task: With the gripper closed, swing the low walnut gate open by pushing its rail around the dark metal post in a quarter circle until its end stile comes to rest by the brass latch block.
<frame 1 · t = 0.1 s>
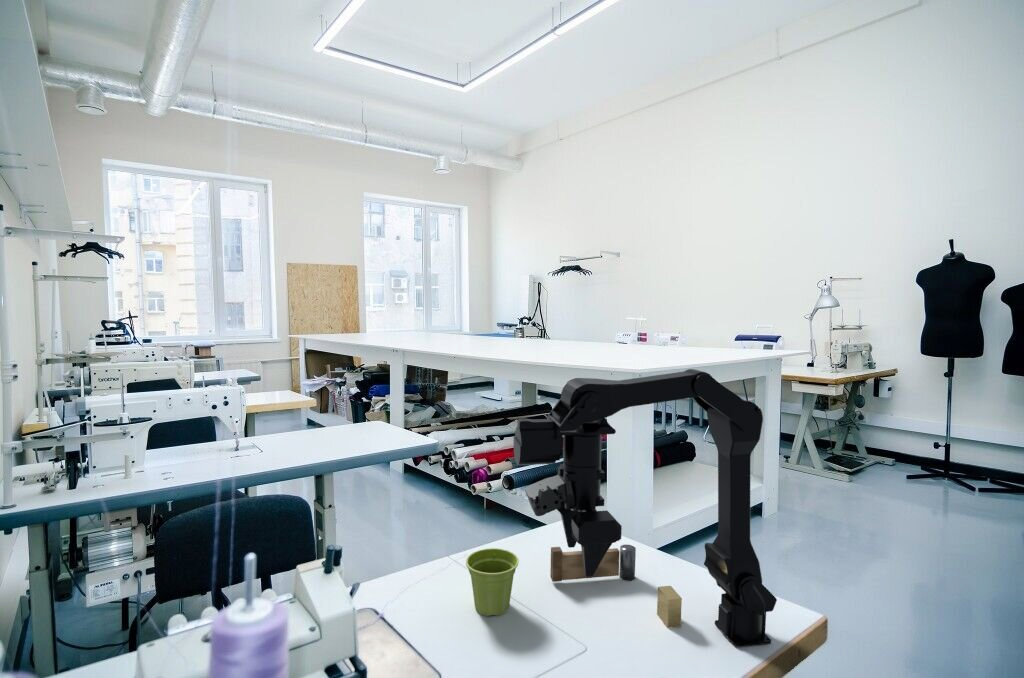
hand: (579, 560, 82), 15 cm above the table, tool pointing down, fingers open, 9 cm apart
gate post: (627, 577, 105), on the table
swing gate: (585, 561, 104), point 4 cm above the table, hinge at 0.0°
latch block: (668, 620, 91), on the table
plant pot: (491, 608, 95), on the table
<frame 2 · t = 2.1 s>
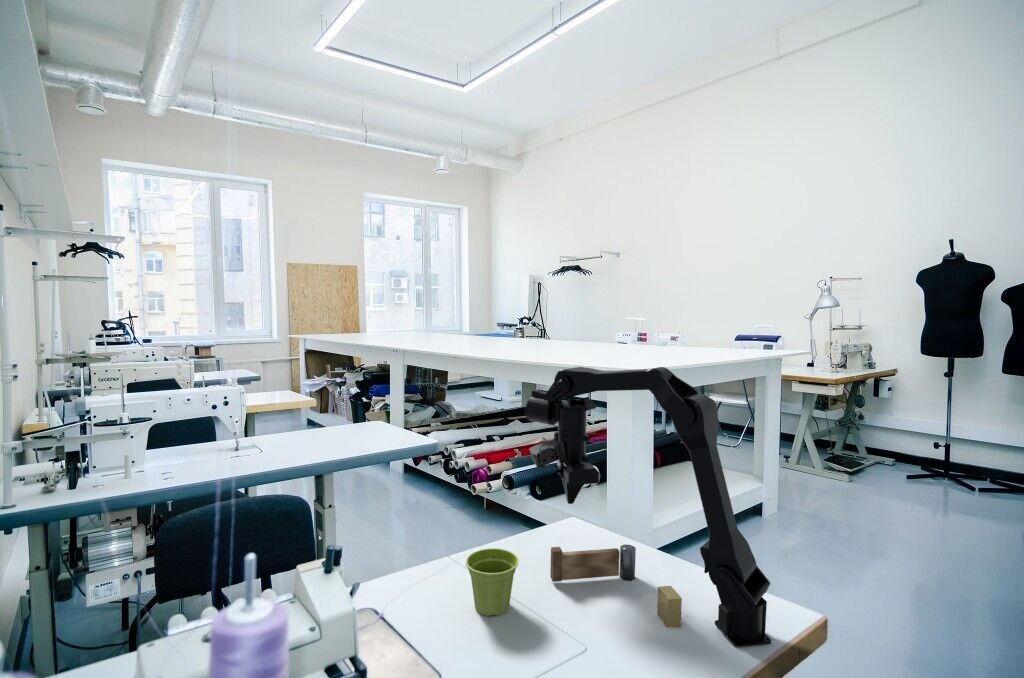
hand: (570, 503, 109), 13 cm above the table, tool pointing down, fingers closed
nothing on the table moved.
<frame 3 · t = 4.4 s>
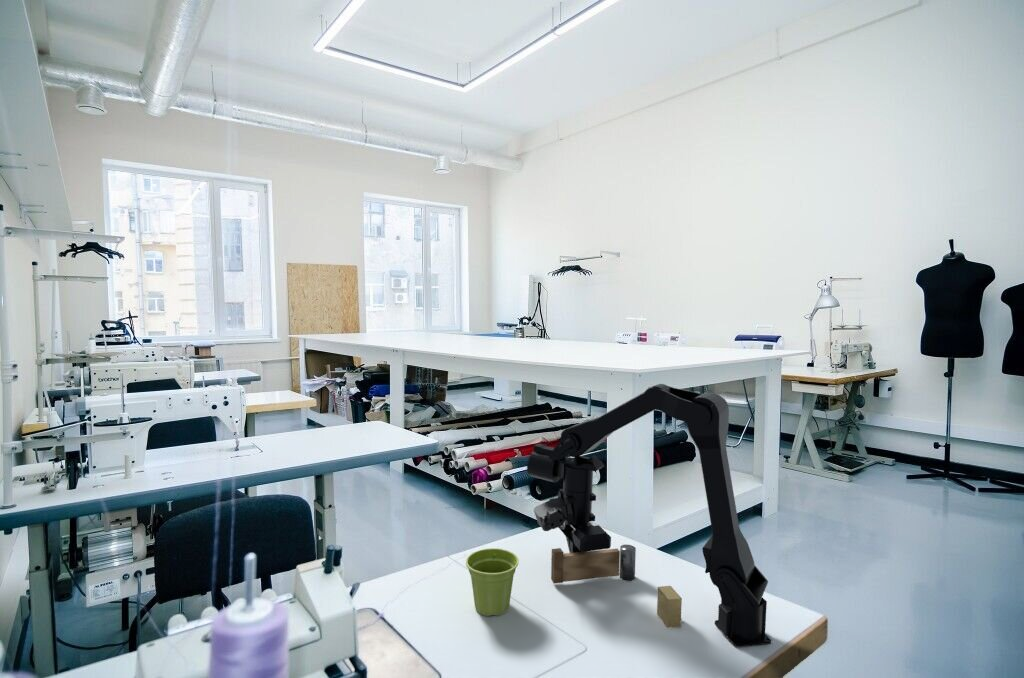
hand: (574, 563, 106), 3 cm above the table, tool pointing down, fingers closed
swing gate: (585, 562, 103), point 4 cm above the table, hinge at 2.5°, touching gripper
everything else where it was.
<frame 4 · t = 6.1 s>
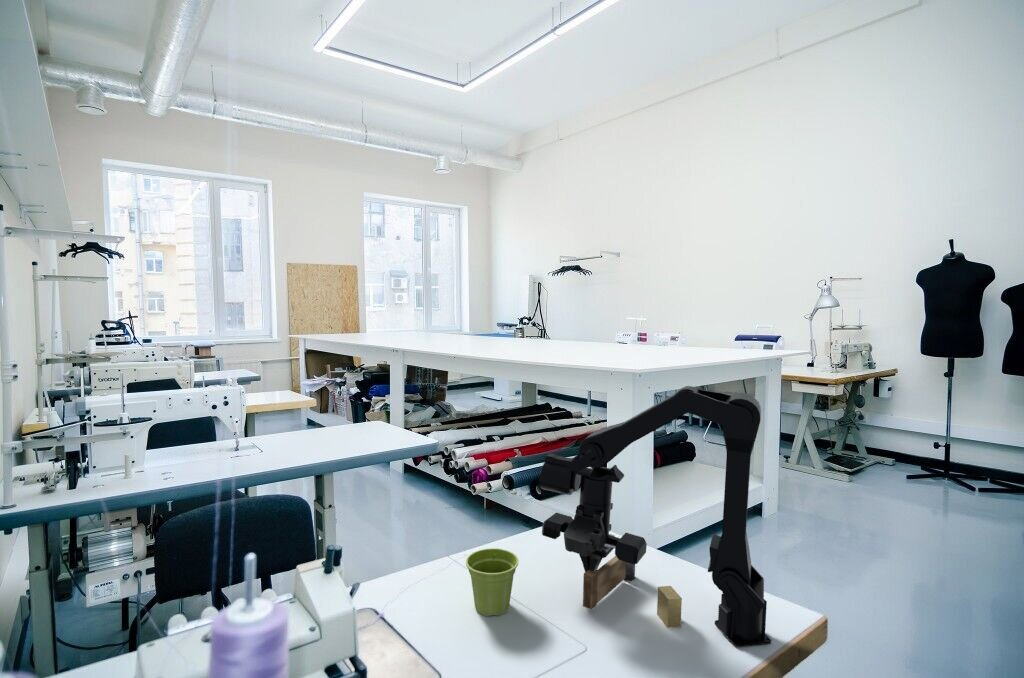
hand: (590, 580, 99), 3 cm above the table, tool pointing down, fingers closed
swing gate: (606, 576, 98), point 4 cm above the table, hinge at 41.5°, touching gripper
everything else where it was.
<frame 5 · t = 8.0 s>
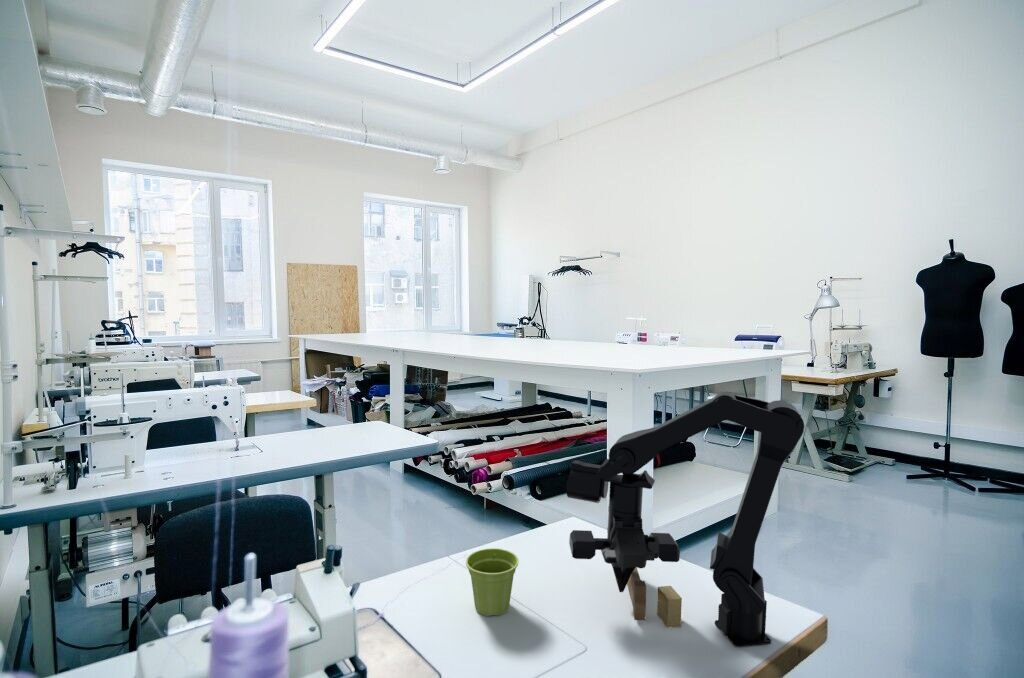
hand: (620, 591, 95), 3 cm above the table, tool pointing down, fingers closed
swing gate: (634, 582, 96), point 4 cm above the table, hinge at 75.6°, touching gripper
everything else where it was.
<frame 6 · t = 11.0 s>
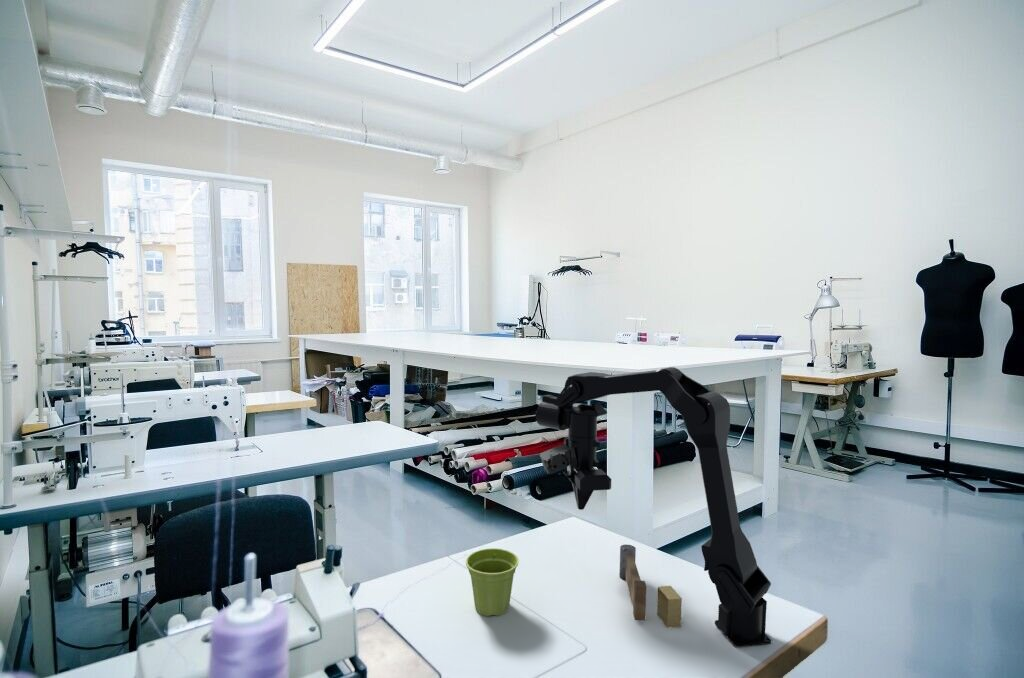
hand: (580, 508, 109), 12 cm above the table, tool pointing down, fingers closed
swing gate: (634, 582, 96), point 4 cm above the table, hinge at 75.6°
everything else where it was.
at the end: swing gate at +76° (first picture: +0°); plant pot moved 0.2 cm from its start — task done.
